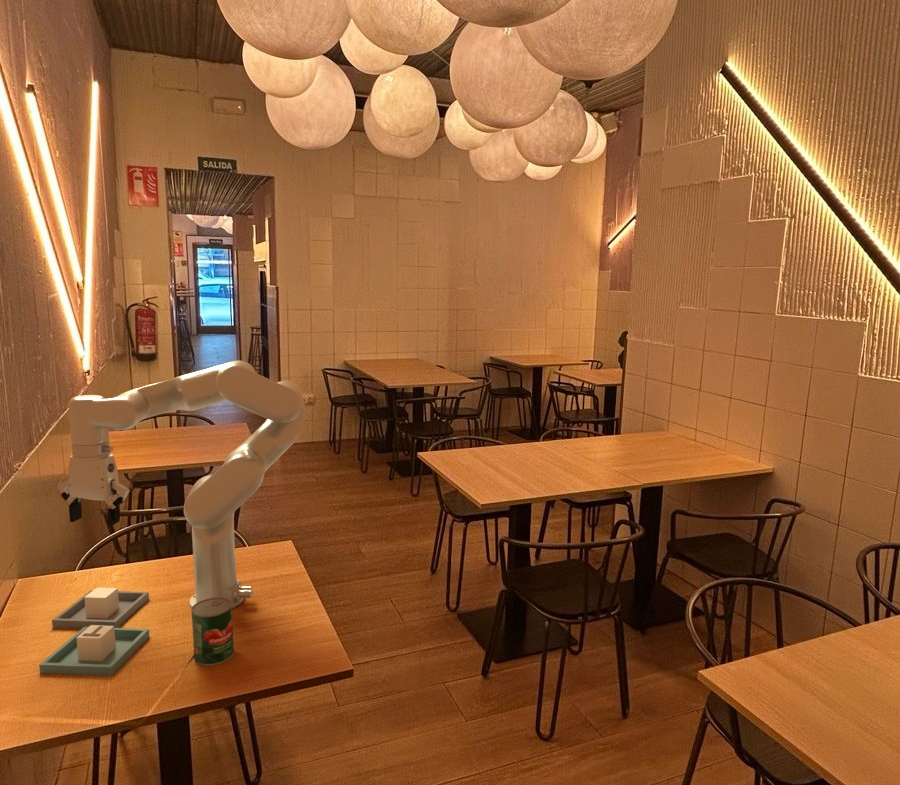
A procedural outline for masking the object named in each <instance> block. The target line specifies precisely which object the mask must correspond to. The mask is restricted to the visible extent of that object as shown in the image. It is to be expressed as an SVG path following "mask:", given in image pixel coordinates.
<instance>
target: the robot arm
mask: <svg viewBox="0 0 900 785" xmlns="http://www.w3.org/2000/svg"><path fill="white" fill-rule="evenodd" d="M224 402H229V403H232V404H233V405H235V406H237V407H240V408H242V409H244V410H246V411H248V412H250V413H253V414H256V415H257V416H259V417H262V418H265V421H264V422H263V423H262V424H261V425H260V426H259V427H258V428H257V429H256V430H255V431H254V432H253V433H252V434H251V435H250V436H249V437H247V439H246V440H244V441H243V442H242V443H241V444H240V445H239V446H238V447H236V448H235V449H233V450H232V451H231V452H230V453H229V454H228V455H227V456H226V458H225V460H224V462H223V463H222V465H221V466H220V467H218V469H217V470H216V471H214V473H212V474H208V475H204V476H203V477H201V478H199V479H198V480H197V481H196V482H195V483H194V485H193V486H192V487H191V489H190V491H189V493H188V495H187V497H186V499H185V501H184V505H183V515H184V518H185V520H186V522H188V524H189V525H191V537H192V538H191V539H192V558H193V572H194V573H193V574H194V576H193V577H194V588H195V594H193V595H192V596H191V597H190V598H189V601H188V602H189V603H188V605H189V608H191V609H192V607H193V606H194V605H195V604H196V603H198V602H200V601H202V600H205V599H209V598H217V597H219V598H226V599H228V600H230V601H231V603H232V606H231V607H232V609H234V608H236V607H237V606H239V605H240V604H241V603H243V601H244V599H252V598H253V597H254V596H253V595H254V591H253V589H252V586H248V585H247V586H243V585H242V584H241V579H237V568H236V548H235V546H236V545H235V520H234V518H235V516H234V514H235V512H236V511H237V510H238V509H239V508H240V507H241V506H242V505H244V504H245V502H246V501H248V499H251V497H252V496H253V495H254V494H255V493H256V492H257V490H258V489H259V488H260V487H261V485H262V483H263V480H264V479H265V478H264V477H265V474H266V472H267V471H268V470H269V468H270V467H271V466H272V465H273V464H274V463H276V461H278V460H279V459H280V458H281V457H282V456H283V454H285V453H286V452H287V451H288V449H289V448H290V447H291V446H292V445H293V444H294V443H295V442H296V440H297V439H298V437H299V435H300V434H301V432H302V429H303V426H304V423H305V420H306V419H305V418H306V402H305V399H304V395H303V393H302V390H301V388H300V387H299V386H298V385H297V384H296V383H295V382H292V381H290V380H281V381H278V382H276V381H274V380H272V379H269V378H268V377H265V376H263V375H261V374H260V373H257V372H256V370H255V368H254V366H252V364H250V363H249V362H248V361H244V360H234V361H233V360H232V361H228V362H224V363H222V364H219V365H214V366H212V367H208V368H205V369H201V370H197V371H195V372H190V373H187V374H181V375H179V376H176V377H174V378H170V379H167V380H163V381H159V382H156V383H155V382H154V383H152V384H147V385H145V386H142V387H137V388H134V389H131V390H128V391H127V390H126V391H125V392H122V393H120V394H119V395H117V396H114V397H111V398H105V397H104V396H102V395H98V394H85V395H76V396H74V397H72V398H71V399H70V400H69V402H68V405H69V406H68V408H69V409H68V410H69V424H70V426H69V429H70V443H71V455H70V457H69V461H68V470H67V480H65V481H63V482H61V483H58V484H57V486H56V487H57V489H58V491H59V493H60V496H61V498H62V499H63V500H64V501H65V504H66V506H68V514H69V522H70V523H75V522H76V521H79V520H81V519H82V518H83V510H82V508H83V507H82V501H80V500H92V501H104V502H105V503H106V505H107V506H108V507H109V508H107V524H108V526H114V525H116V524H117V523H119V522H120V520H121V510H120V509H121V508H120V506H122V505H123V504H124V502H125V501H126V500H127V497H128V495H129V493H130V489H129V488H128V487H126V486H125V485H123V484H122V483H120V480H119V479H120V478H119V471H118V466H117V463H116V458H115V456H114V454H112V452H113V451H114V447H113V446H112V445H110V432H109V430H113V431H114V430H116V431H117V430H119V431H125V430H130V429H131V428H133V427H135V426H136V425H137V424H139V423H140V422H141V421H142V420H145V419H148V418H153V417H154V416H159V415H162V414H165V413H169V412H175V411H187V412H191V411H192V412H193V411H197V410H200V409H204V408H207V407H210V406H214V405H217V404H221V403H224Z"/></svg>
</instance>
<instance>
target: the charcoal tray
mask: <svg viewBox="0 0 900 785" xmlns="http://www.w3.org/2000/svg"><path fill="white" fill-rule="evenodd" d="M93 590H94V589H92V590H90V591H88V592H87V593H85V594H84V595H83V596H82V597H80V598H79V599H77V600H76V601H75V602H73V603H72V604H71V605H70V606H68V607H67V608H65V609H64V610H63V611H62V612H61V613H59V614H58V615H56V616H55V617H54V618H53V619H51V623H52V624H51V626H52V629H78V630H81V629H82V628H83V627H89V626H91V625H104V626H114V628H120V626H122V625H123V624H124V623H125V622H126V621H127V620H128V619H129V618H130V617H132V616H133V615H134V613H135V612H137V611H138V610H139V609H141V607H142V606H144V605H145V603H147V601H149V600H150V594H149V591H130V590H129V591H127V590H125V591H124V590H118V598H119V608H118V609H117V610H116V611H115V612H114V613H113V614H111V615H110V616H109V617H108V618H86V609H85V598H84V597H85V596H87V595H88V594H89V593H91V592H92V591H93Z"/></svg>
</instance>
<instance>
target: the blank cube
mask: <svg viewBox="0 0 900 785" xmlns="http://www.w3.org/2000/svg"><path fill="white" fill-rule="evenodd" d="M92 590H93V591H92V592H91V593H89V594H88V595H87V596H85V597H84V598H85V609H86V618H108V617H109V616H110V615H111V614H113V613H114V612H115V611H116V610H117V609H118V608H119V598H118V591H119V590H118V588H117V587H96V588H95V589H92Z"/></svg>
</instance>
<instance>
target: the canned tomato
mask: <svg viewBox="0 0 900 785" xmlns="http://www.w3.org/2000/svg"><path fill="white" fill-rule="evenodd" d="M231 606H232V603H231V601H230V600H228V599H226V598H219V597H217V598H209V599H205V600H202V601H200V602H198V603H196V604H195V605H194V606H193V607H192V608H191V610H190V611H191V620H192V621H191V623H192V641H193V656H194V657H193V659H194V662H195V664H198V665H199V666H202V667H203V666H204V667H209V666H210V667H212V666H218V665H221V664H223V663H225V662H227V661H229V660H230V659H231V658H232V657H233V656H234V654H235V649H234V647H235V646H234V628H233V610H232V609H233V608H232V607H231Z"/></svg>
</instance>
